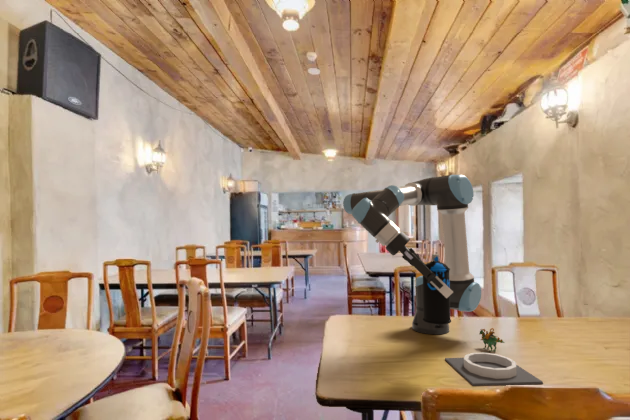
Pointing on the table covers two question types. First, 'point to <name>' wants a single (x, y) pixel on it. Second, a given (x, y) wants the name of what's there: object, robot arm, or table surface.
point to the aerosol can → (436, 294)
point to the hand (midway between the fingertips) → (447, 292)
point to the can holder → (491, 370)
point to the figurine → (490, 339)
